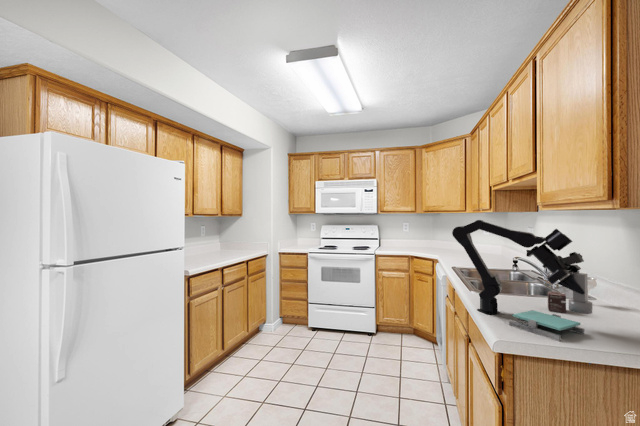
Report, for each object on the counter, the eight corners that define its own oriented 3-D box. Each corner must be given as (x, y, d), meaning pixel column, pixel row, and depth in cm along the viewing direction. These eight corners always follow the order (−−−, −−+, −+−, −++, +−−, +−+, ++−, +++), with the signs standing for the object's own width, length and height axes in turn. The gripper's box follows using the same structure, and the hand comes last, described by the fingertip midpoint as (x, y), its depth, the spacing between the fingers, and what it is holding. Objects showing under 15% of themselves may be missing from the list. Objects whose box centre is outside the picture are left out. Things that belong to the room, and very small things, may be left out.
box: (548, 311, 134) (548, 294, 134) (547, 307, 139) (547, 291, 139) (566, 313, 131) (566, 296, 131) (564, 309, 136) (564, 292, 136)
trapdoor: (512, 319, 118) (512, 314, 118) (532, 315, 123) (532, 310, 123) (559, 334, 104) (559, 328, 104) (580, 328, 108) (580, 322, 108)
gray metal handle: (566, 310, 114) (566, 273, 114) (571, 307, 118) (571, 271, 118) (589, 315, 108) (589, 276, 108) (594, 311, 112) (594, 274, 112)
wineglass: (583, 305, 141) (582, 279, 141) (574, 301, 148) (574, 276, 148) (600, 306, 140) (600, 279, 140) (591, 302, 146) (591, 277, 146)
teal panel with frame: (509, 324, 118) (509, 313, 118) (533, 319, 124) (533, 308, 124) (559, 341, 102) (558, 328, 102) (584, 333, 109) (584, 322, 109)
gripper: (558, 246, 111) (599, 283, 102) (574, 243, 122) (612, 276, 113) (532, 266, 117) (569, 302, 108) (550, 261, 128) (584, 293, 119)
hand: (585, 292), depth 112 cm, fingers closed on gray metal handle, 3 cm apart
